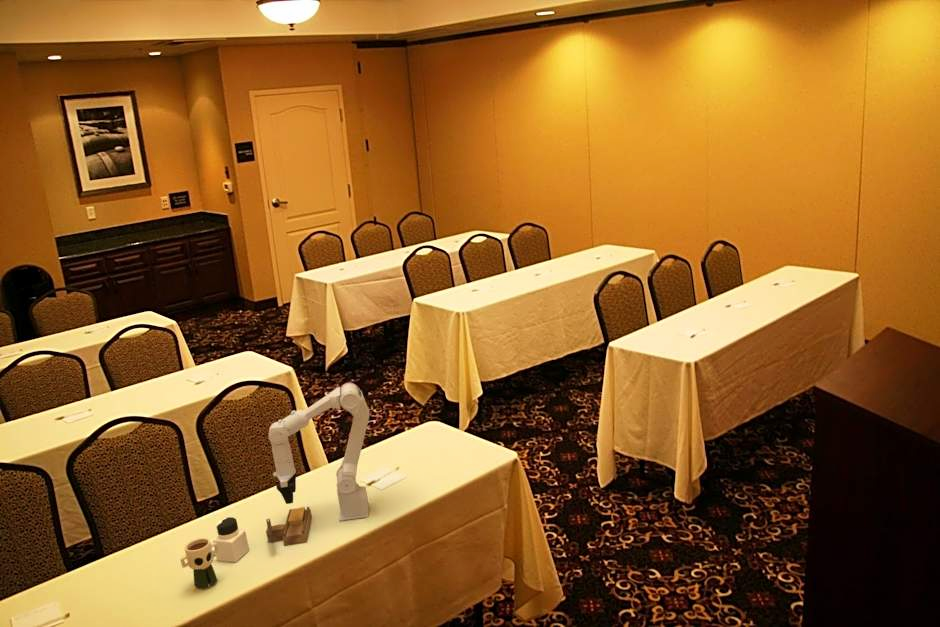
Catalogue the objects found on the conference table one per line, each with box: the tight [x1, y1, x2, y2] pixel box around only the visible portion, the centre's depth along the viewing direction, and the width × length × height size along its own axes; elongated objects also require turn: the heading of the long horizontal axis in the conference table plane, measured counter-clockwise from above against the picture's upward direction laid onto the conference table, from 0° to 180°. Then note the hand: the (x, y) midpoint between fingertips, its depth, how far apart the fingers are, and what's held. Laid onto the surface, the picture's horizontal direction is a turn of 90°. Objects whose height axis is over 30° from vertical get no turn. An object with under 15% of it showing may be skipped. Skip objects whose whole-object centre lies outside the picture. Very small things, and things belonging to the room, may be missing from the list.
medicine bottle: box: [212, 516, 250, 563], centre depth 238 cm, size 7×7×12 cm
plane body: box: [265, 506, 313, 547], centre depth 249 cm, size 12×16×4 cm
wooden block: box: [288, 506, 307, 527], centre depth 250 cm, size 4×8×2 cm, turn 5°
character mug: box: [180, 537, 218, 590], centre depth 224 cm, size 11×7×13 cm, turn 131°
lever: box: [265, 518, 274, 544], centre depth 240 cm, size 11×1×3 cm, turn 18°
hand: (290, 497), depth 251 cm, fingers open, 7 cm apart
